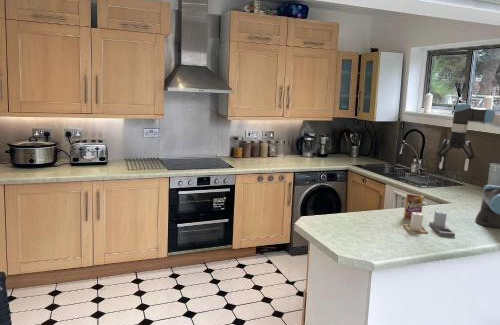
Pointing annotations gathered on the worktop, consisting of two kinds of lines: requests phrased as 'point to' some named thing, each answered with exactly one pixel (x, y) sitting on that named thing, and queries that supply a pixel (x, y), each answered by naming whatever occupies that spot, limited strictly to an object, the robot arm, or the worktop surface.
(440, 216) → the charger blue
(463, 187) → the worktop surface
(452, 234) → the power strip
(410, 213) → the candy box
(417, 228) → the block
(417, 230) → the tray
